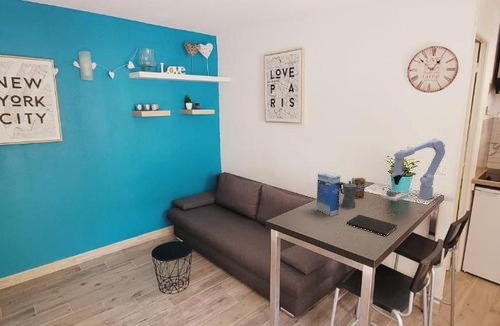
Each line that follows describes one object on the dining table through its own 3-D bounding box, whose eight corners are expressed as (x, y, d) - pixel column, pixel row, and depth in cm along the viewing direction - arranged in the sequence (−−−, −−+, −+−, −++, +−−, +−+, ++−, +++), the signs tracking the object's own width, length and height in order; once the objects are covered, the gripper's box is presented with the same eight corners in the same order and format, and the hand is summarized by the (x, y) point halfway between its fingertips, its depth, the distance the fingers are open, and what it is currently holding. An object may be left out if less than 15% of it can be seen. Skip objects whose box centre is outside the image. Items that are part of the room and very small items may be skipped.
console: (393, 193, 228) (393, 190, 227) (407, 196, 219) (407, 194, 219) (381, 197, 218) (381, 194, 218) (395, 201, 209) (395, 198, 209)
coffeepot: (360, 207, 199) (362, 182, 195) (352, 210, 194) (353, 184, 190) (342, 201, 211) (344, 177, 207) (334, 203, 206) (335, 179, 202)
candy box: (353, 198, 216) (354, 179, 212) (350, 197, 220) (351, 177, 217) (364, 198, 217) (365, 178, 214) (361, 196, 221) (362, 177, 218)
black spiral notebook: (358, 217, 182) (359, 214, 182) (397, 228, 166) (397, 225, 166) (346, 225, 171) (346, 221, 171) (386, 237, 155) (386, 234, 155)
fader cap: (389, 194, 219) (389, 189, 218) (396, 195, 215) (396, 191, 214) (386, 195, 216) (387, 190, 216) (393, 196, 212) (393, 192, 212)
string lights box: (339, 214, 187) (341, 175, 182) (330, 216, 183) (332, 177, 178) (323, 208, 198) (325, 171, 193) (315, 210, 194) (317, 173, 189)
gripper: (397, 165, 225) (396, 181, 227) (387, 167, 216) (386, 185, 219) (407, 166, 219) (405, 183, 222) (397, 169, 211) (395, 187, 214)
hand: (396, 184), depth 220 cm, fingers closed
